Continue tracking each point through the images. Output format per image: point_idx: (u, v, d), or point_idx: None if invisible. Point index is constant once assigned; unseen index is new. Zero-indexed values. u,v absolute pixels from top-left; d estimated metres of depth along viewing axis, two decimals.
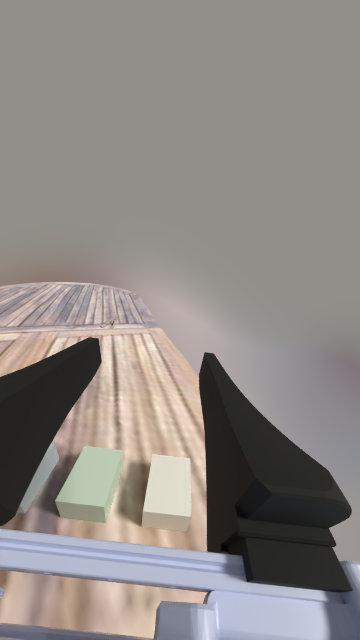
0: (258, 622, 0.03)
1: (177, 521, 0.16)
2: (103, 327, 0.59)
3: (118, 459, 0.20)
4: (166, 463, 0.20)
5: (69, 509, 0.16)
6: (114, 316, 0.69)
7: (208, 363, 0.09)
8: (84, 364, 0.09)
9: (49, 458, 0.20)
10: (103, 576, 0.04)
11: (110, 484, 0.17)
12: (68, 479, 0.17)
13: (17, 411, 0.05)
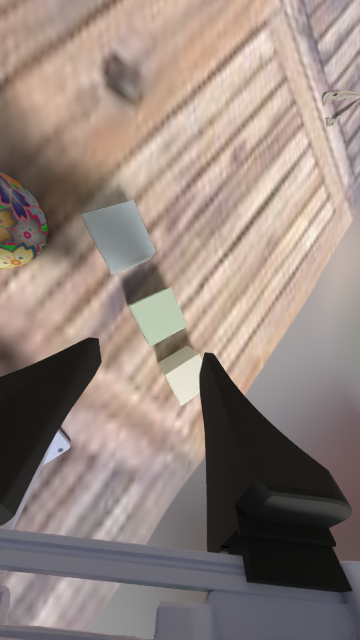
0: (258, 622, 0.03)
1: None
2: (323, 103, 0.27)
3: (180, 328, 0.18)
4: (199, 369, 0.20)
5: (133, 315, 0.18)
6: (359, 94, 0.30)
7: (208, 363, 0.09)
8: (84, 364, 0.09)
9: (144, 258, 0.17)
10: (103, 576, 0.04)
11: (162, 338, 0.18)
12: (144, 301, 0.17)
13: (17, 410, 0.05)
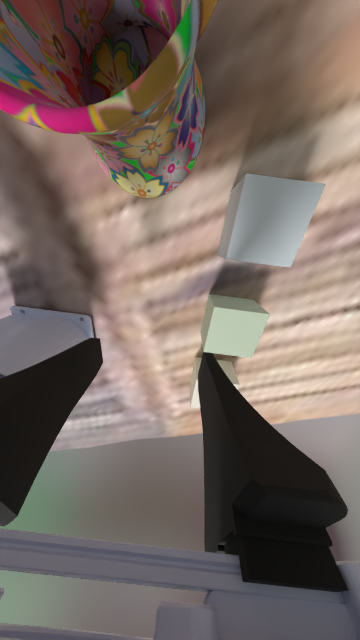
0: (258, 622, 0.03)
1: (191, 391, 0.21)
2: None
3: (242, 355, 0.16)
4: None
5: (209, 312, 0.16)
6: None
7: (206, 363, 0.09)
8: (86, 364, 0.09)
9: None
10: (103, 576, 0.04)
11: (219, 352, 0.16)
12: (232, 311, 0.14)
13: (20, 411, 0.05)
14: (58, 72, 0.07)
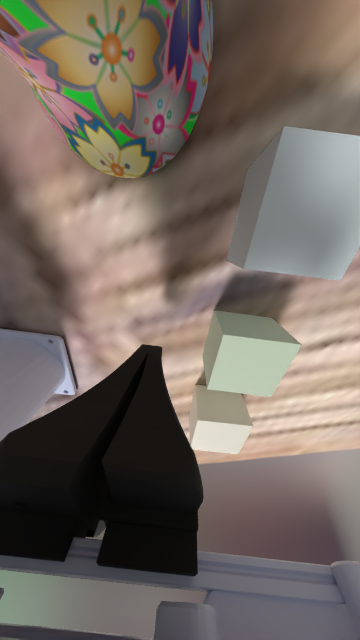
0: (258, 622, 0.03)
1: (191, 427, 0.17)
2: None
3: (258, 394, 0.12)
4: (237, 437, 0.15)
5: (214, 337, 0.12)
6: None
7: (147, 355, 0.09)
8: None
9: None
10: (103, 576, 0.04)
11: (229, 390, 0.12)
12: (248, 340, 0.10)
13: (116, 423, 0.06)
14: None
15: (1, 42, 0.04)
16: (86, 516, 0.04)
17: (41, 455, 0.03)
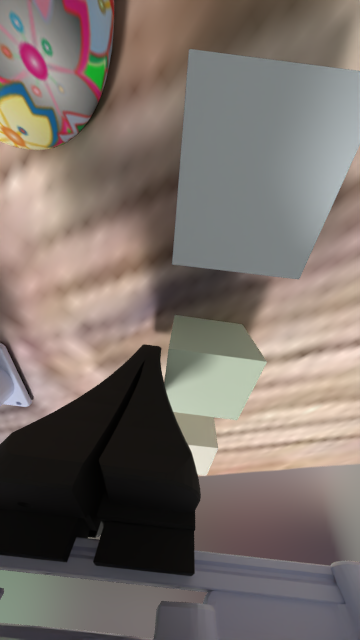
0: (258, 622, 0.03)
1: None
2: None
3: (222, 416, 0.10)
4: (202, 459, 0.13)
5: None
6: None
7: (146, 355, 0.09)
8: None
9: None
10: (103, 576, 0.04)
11: (187, 412, 0.10)
12: (201, 355, 0.08)
13: (118, 423, 0.06)
14: None
15: None
16: (88, 516, 0.04)
17: (43, 455, 0.03)
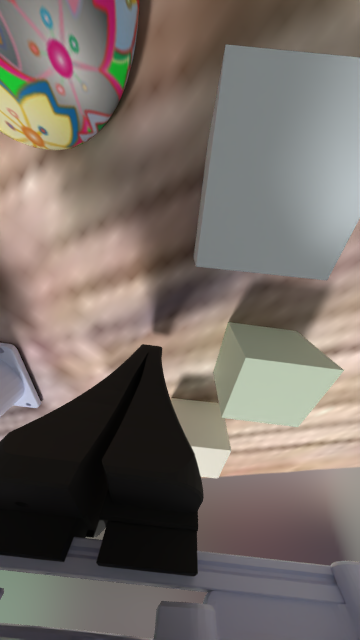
0: (258, 622, 0.03)
1: None
2: None
3: (283, 424, 0.10)
4: (215, 461, 0.13)
5: (231, 357, 0.10)
6: None
7: (147, 355, 0.09)
8: None
9: None
10: (103, 576, 0.04)
11: (247, 419, 0.10)
12: (277, 364, 0.08)
13: (116, 423, 0.06)
14: None
15: None
16: (86, 516, 0.04)
17: (40, 455, 0.03)
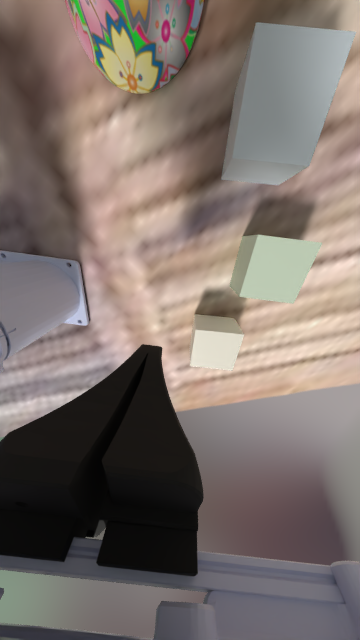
0: (258, 622, 0.03)
1: (191, 350, 0.19)
2: None
3: (283, 300, 0.14)
4: (231, 348, 0.17)
5: (246, 251, 0.14)
6: None
7: (147, 355, 0.09)
8: None
9: (280, 172, 0.11)
10: (103, 576, 0.04)
11: (257, 297, 0.14)
12: (278, 240, 0.12)
13: (116, 423, 0.06)
14: None
15: None
16: (86, 516, 0.04)
17: (40, 455, 0.03)
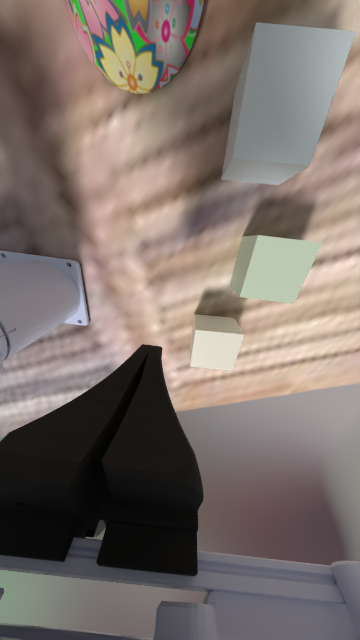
0: (258, 622, 0.03)
1: (191, 350, 0.19)
2: None
3: (283, 300, 0.14)
4: (231, 348, 0.17)
5: (246, 251, 0.14)
6: None
7: (147, 355, 0.09)
8: None
9: (280, 172, 0.11)
10: (103, 576, 0.04)
11: (258, 298, 0.14)
12: (278, 240, 0.12)
13: (116, 423, 0.06)
14: None
15: None
16: (86, 516, 0.04)
17: (40, 455, 0.03)
